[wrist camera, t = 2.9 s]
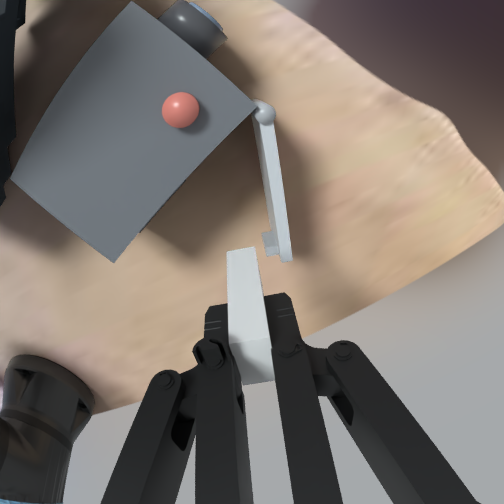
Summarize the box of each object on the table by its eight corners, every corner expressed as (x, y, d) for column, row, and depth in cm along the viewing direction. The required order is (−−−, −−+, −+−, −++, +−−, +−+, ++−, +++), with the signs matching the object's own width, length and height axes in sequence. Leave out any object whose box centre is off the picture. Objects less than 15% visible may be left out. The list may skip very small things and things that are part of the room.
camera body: (137, 222, 27) (113, 271, 20) (52, 152, 23) (3, 182, 16) (271, 82, 22) (292, 82, 16) (176, -1, 18) (158, -31, 11)
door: (236, 101, 23) (241, 108, 17) (261, 97, 23) (274, 102, 17) (260, 230, 28) (270, 271, 23) (281, 226, 28) (296, 266, 23)
